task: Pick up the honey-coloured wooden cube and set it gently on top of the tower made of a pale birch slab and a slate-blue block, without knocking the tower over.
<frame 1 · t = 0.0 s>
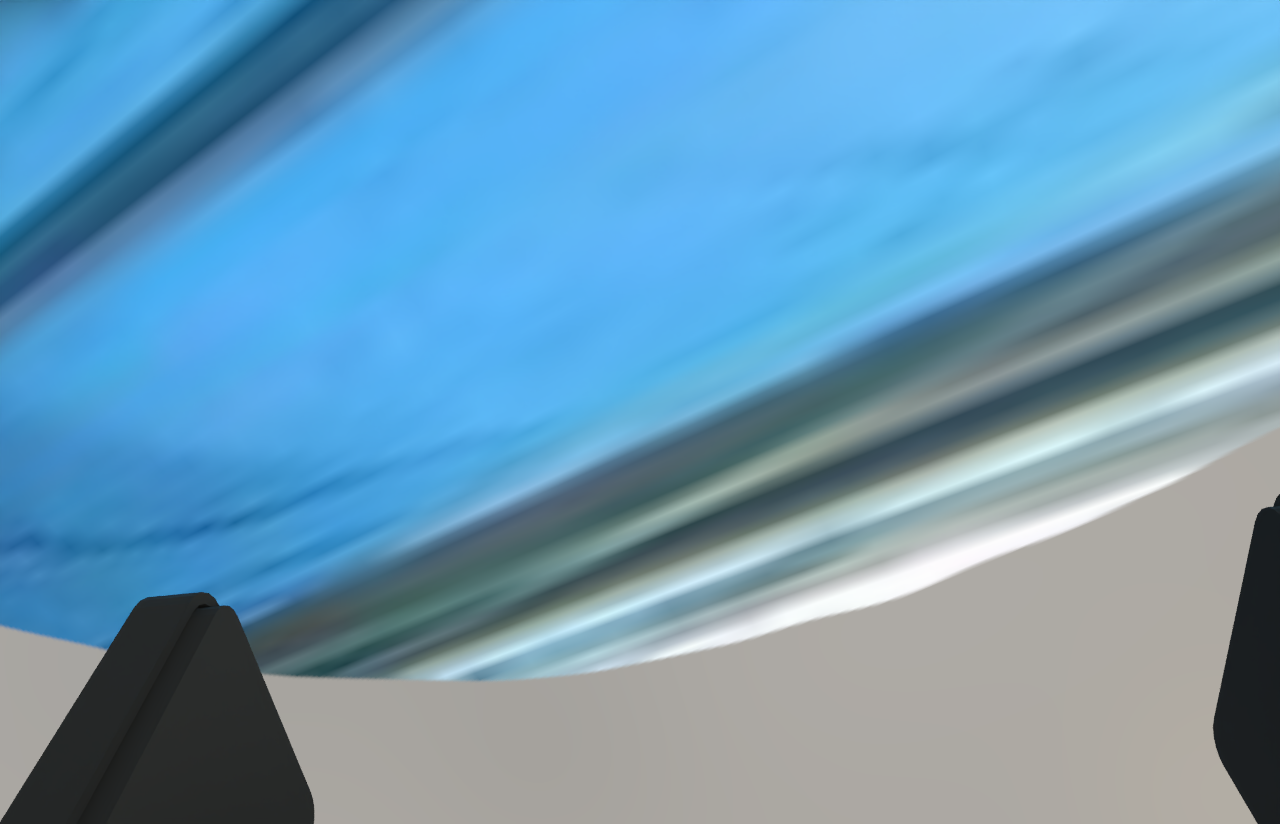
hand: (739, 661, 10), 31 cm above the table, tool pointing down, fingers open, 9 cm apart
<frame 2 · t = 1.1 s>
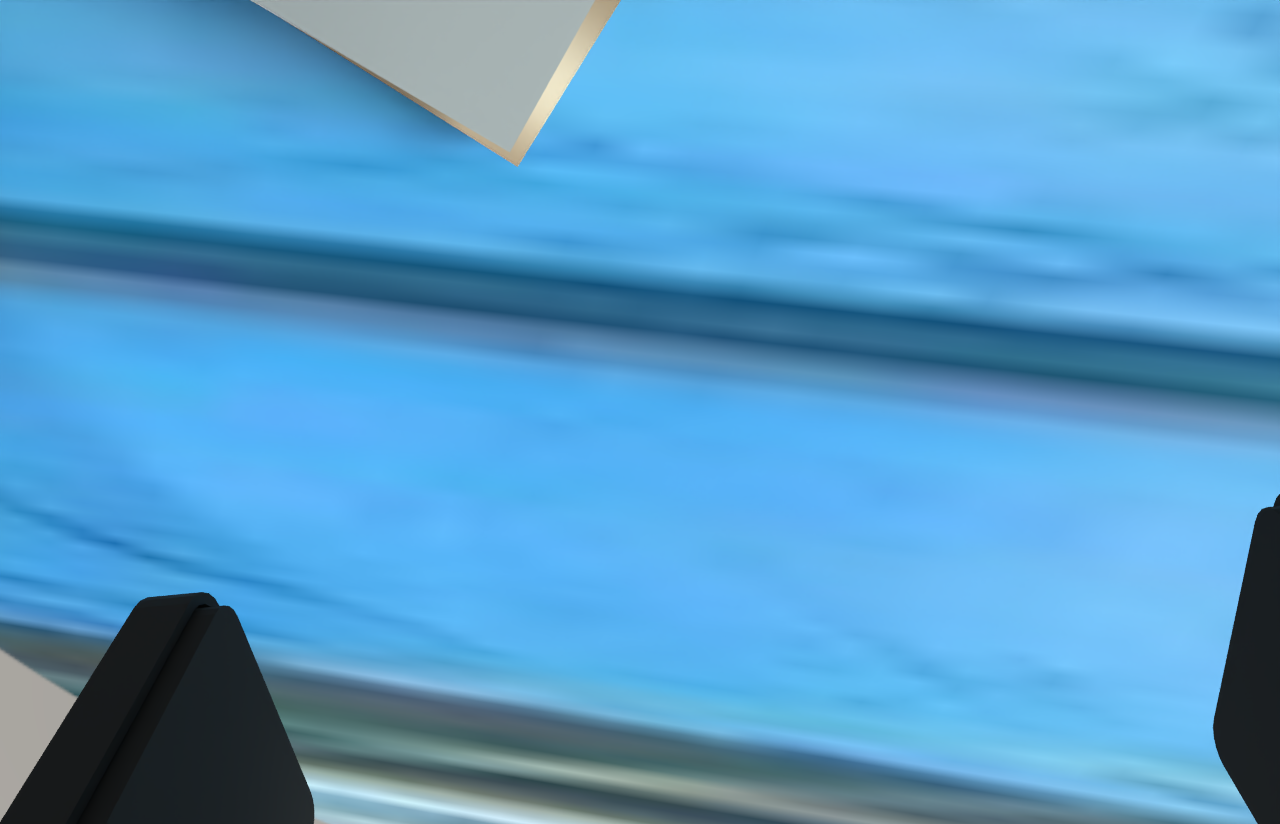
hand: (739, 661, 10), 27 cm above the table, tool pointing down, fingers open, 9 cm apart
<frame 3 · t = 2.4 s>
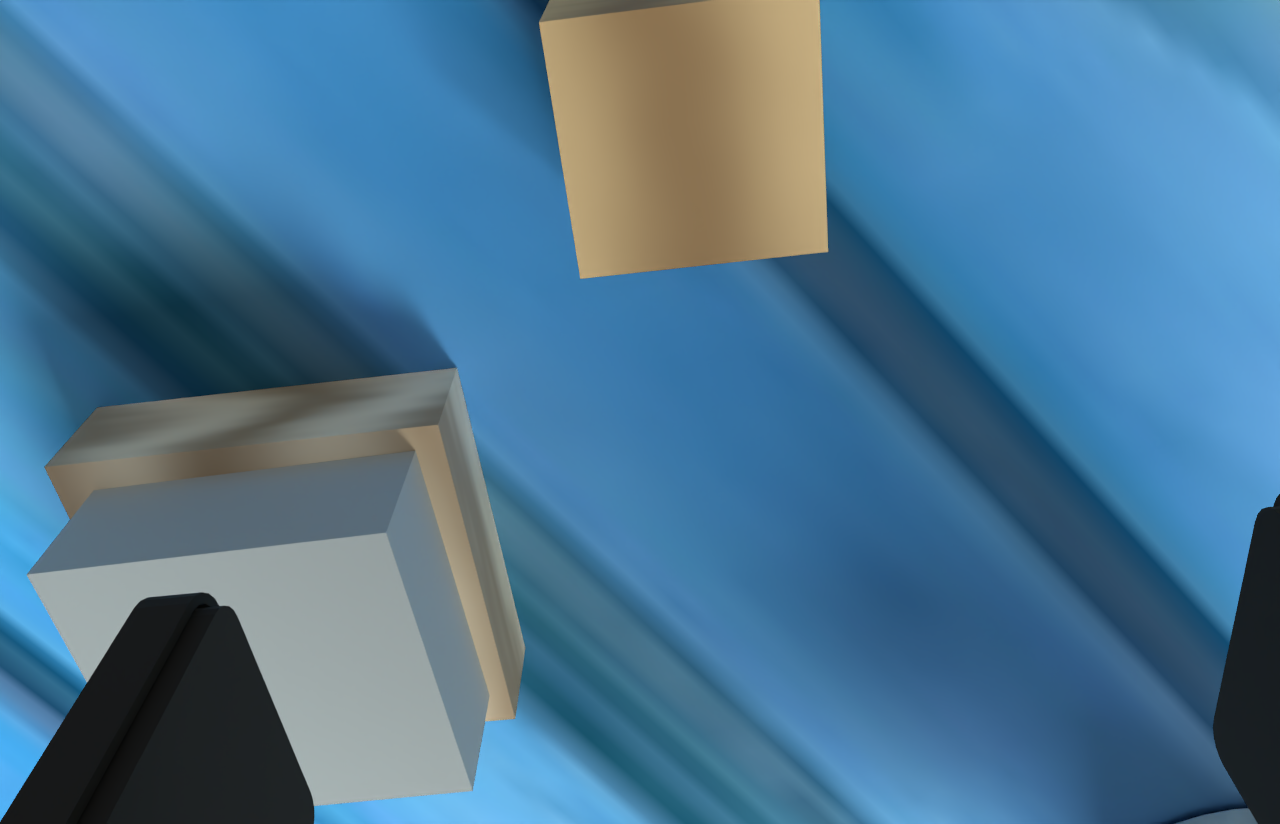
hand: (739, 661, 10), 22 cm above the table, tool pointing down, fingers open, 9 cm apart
slate block: (303, 599, 34), point 3 cm above the table, touching birch slab
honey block: (684, 80, 29), on the table
birch slab: (329, 527, 38), on the table, touching slate block
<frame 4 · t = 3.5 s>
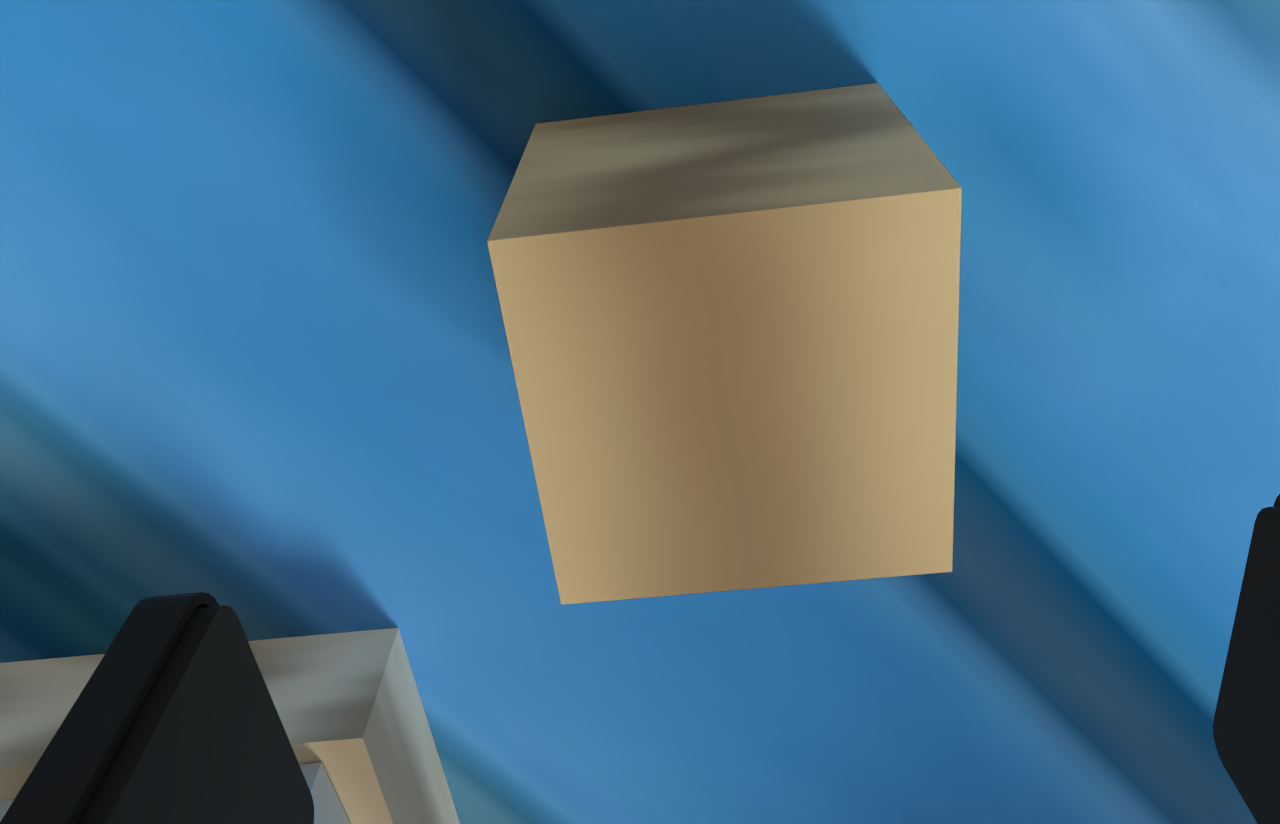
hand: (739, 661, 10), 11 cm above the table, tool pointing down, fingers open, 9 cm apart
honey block: (719, 262, 20), on the table
birch slab: (239, 803, 29), on the table
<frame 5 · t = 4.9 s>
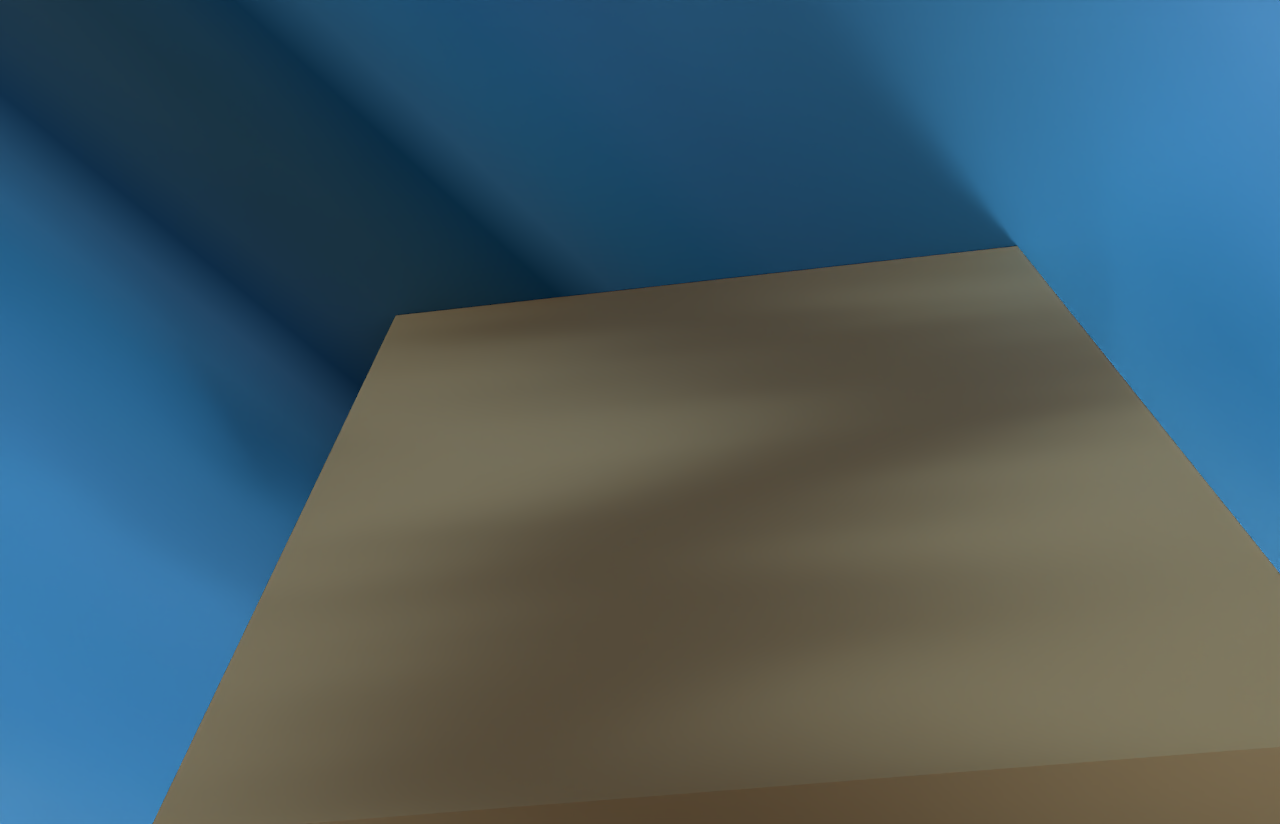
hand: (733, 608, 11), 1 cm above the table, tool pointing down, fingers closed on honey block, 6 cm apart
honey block: (726, 530, 12), on the table, touching gripper
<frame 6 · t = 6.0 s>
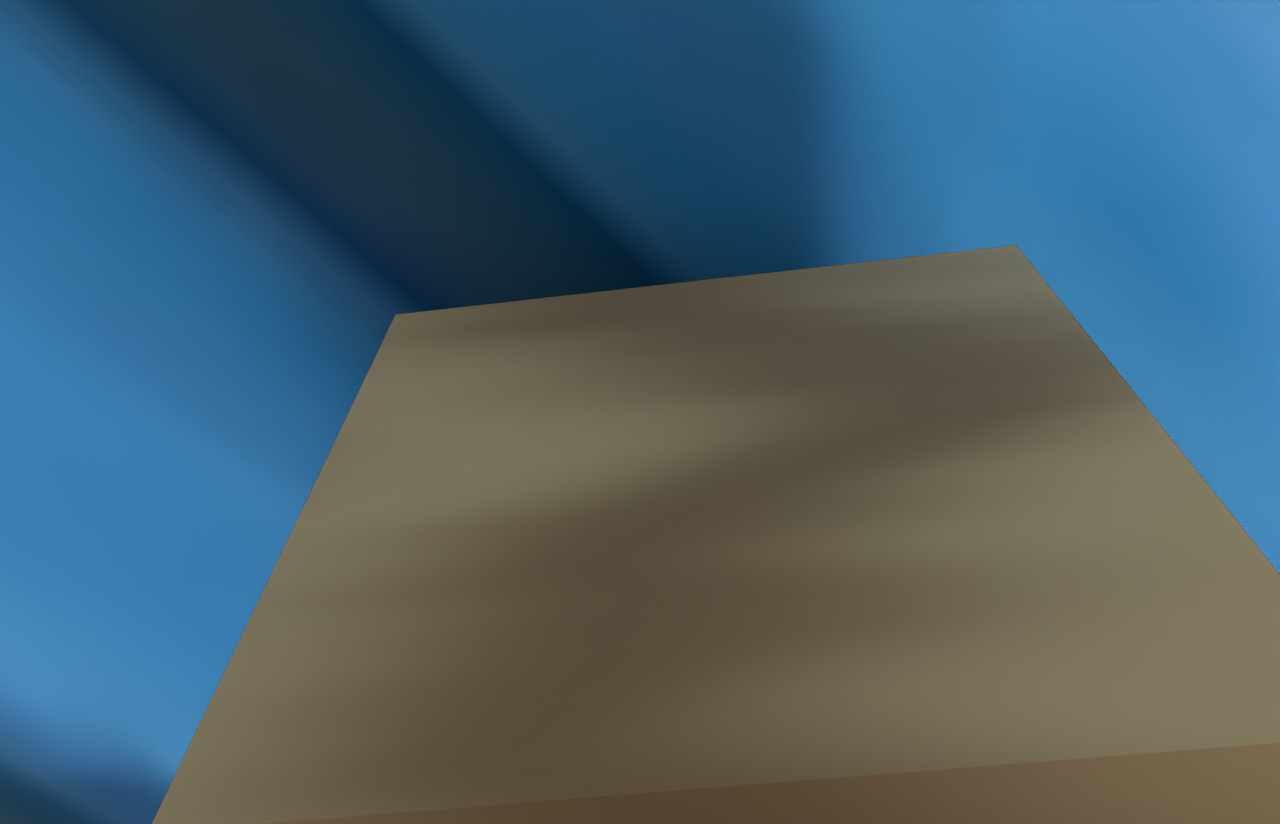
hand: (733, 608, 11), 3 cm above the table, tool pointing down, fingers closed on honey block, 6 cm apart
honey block: (725, 529, 12), point 2 cm above the table, touching gripper
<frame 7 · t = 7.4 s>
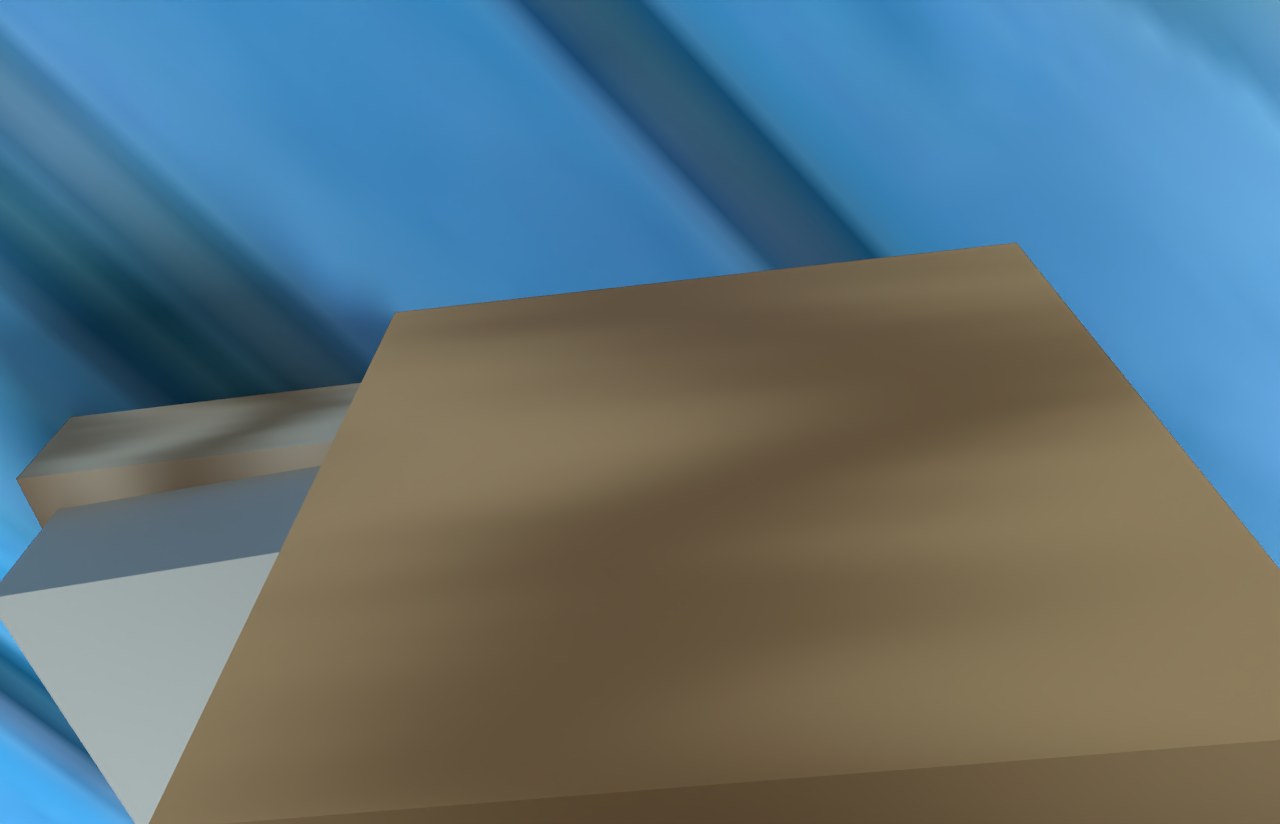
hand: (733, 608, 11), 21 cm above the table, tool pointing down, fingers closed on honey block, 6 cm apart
slate block: (278, 611, 34), point 3 cm above the table
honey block: (725, 527, 12), point 20 cm above the table, touching gripper
birch slab: (311, 535, 37), on the table
when the fingers open (10 cm above the table, at t = 11.5 s): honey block moves 1 cm, resting on slate block.
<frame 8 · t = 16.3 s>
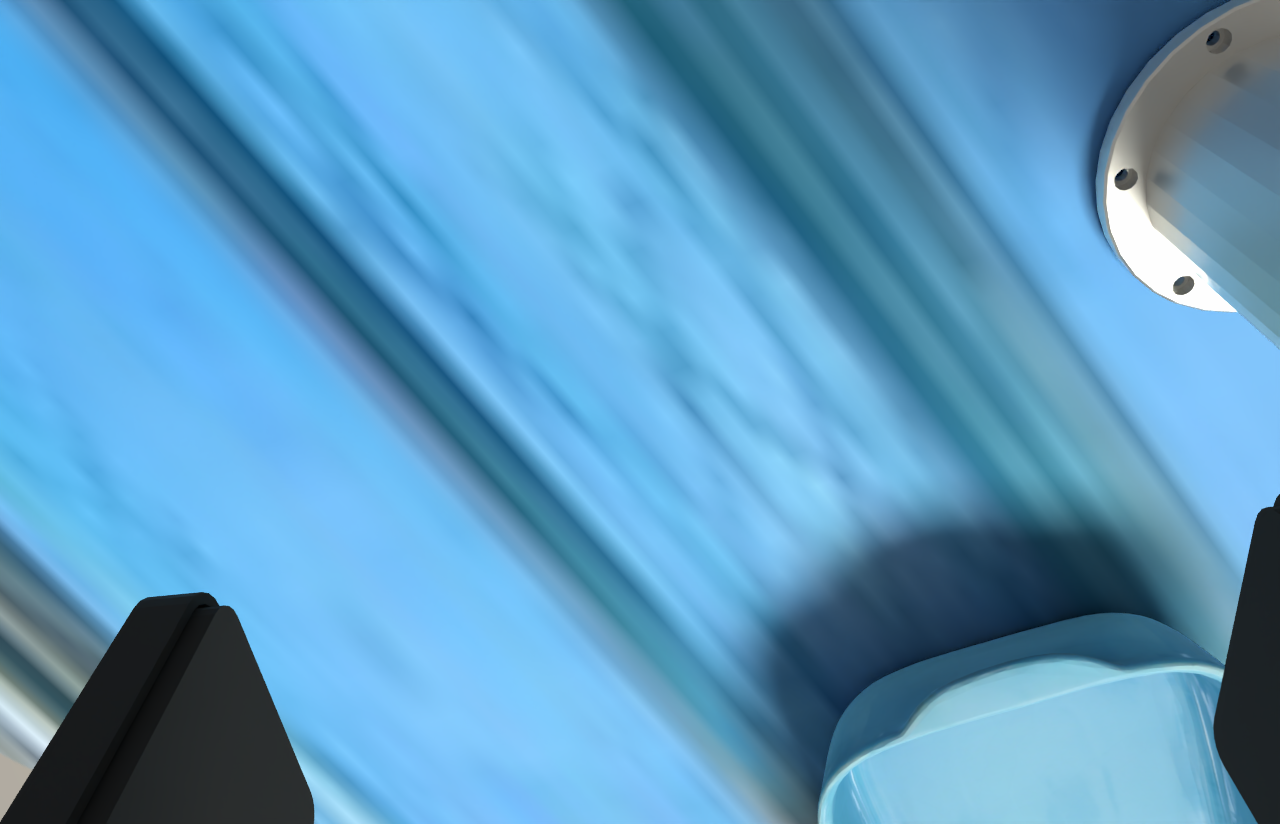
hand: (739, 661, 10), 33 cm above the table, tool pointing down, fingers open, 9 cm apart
casserole dish: (1040, 800, 61), on the table
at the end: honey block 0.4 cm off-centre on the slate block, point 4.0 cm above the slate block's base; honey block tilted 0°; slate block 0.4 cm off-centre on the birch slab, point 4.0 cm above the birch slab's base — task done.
